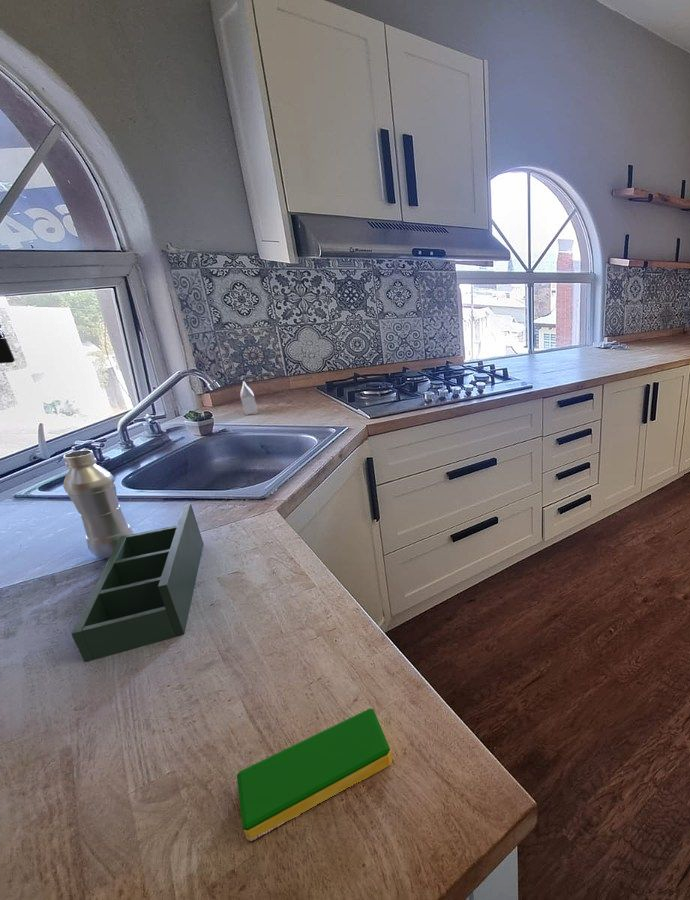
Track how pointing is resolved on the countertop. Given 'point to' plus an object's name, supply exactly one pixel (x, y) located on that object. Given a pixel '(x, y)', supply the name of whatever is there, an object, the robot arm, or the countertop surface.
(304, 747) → the dish sponge
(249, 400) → the white gabled block
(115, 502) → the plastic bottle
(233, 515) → the countertop surface
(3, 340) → the robot arm
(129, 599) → the box
